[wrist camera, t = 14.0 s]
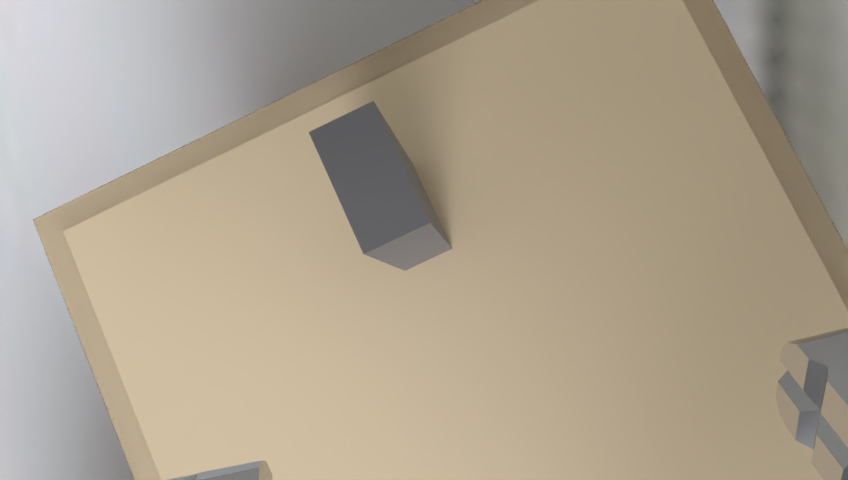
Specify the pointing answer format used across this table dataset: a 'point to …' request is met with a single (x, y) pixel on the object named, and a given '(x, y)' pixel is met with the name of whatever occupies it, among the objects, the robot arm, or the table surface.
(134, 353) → the lid
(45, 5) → the table surface
